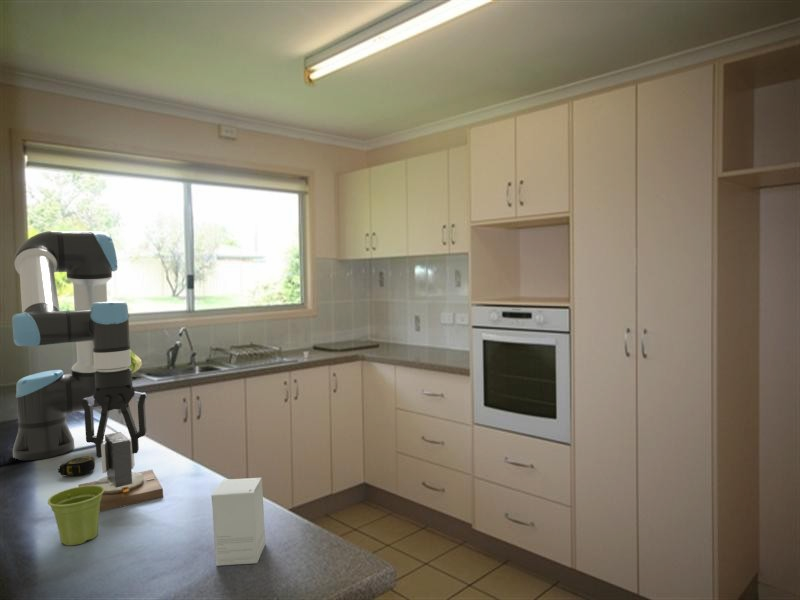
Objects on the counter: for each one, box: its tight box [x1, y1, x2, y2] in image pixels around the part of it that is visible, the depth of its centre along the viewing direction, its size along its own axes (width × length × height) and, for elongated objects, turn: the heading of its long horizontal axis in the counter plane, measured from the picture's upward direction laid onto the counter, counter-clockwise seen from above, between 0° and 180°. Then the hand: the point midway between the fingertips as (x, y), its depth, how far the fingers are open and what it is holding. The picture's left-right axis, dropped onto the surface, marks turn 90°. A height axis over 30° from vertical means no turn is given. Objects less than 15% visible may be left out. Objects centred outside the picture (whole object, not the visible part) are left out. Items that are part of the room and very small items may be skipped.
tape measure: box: [57, 455, 96, 476], centre depth 141 cm, size 7×7×4 cm
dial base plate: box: [77, 469, 164, 512], centre depth 126 cm, size 15×16×2 cm
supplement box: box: [211, 477, 266, 567], centre depth 97 cm, size 7×7×13 cm
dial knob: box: [95, 431, 144, 494], centre depth 125 cm, size 10×12×11 cm
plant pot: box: [47, 485, 104, 546], centre depth 105 cm, size 9×9×9 cm
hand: (118, 468), depth 126 cm, fingers closed on dial knob, 5 cm apart
